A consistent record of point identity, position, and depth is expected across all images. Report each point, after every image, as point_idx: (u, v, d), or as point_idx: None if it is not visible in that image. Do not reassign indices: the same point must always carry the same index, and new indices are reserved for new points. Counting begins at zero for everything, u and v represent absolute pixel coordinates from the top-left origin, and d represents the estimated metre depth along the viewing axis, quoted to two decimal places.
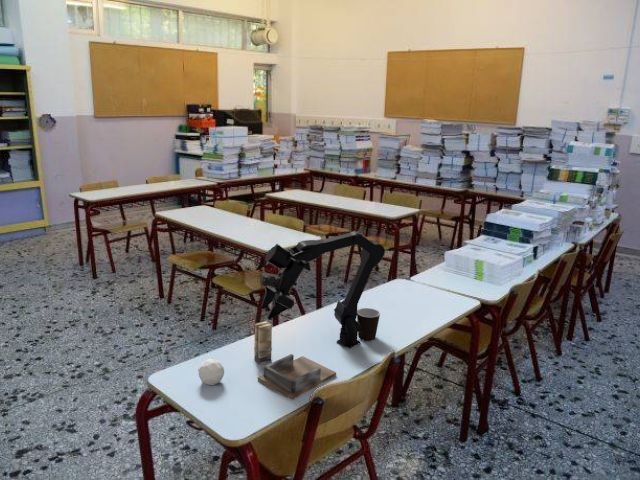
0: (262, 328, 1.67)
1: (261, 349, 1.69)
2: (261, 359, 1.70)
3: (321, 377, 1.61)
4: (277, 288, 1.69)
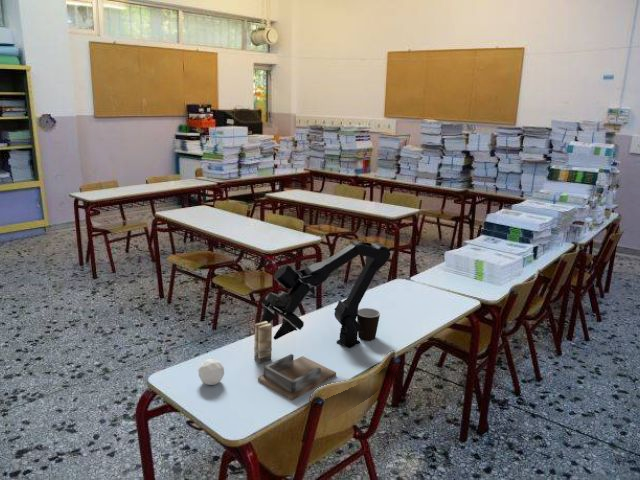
0: (262, 328, 1.67)
1: (261, 349, 1.69)
2: (261, 359, 1.70)
3: (321, 377, 1.61)
4: (285, 309, 1.70)
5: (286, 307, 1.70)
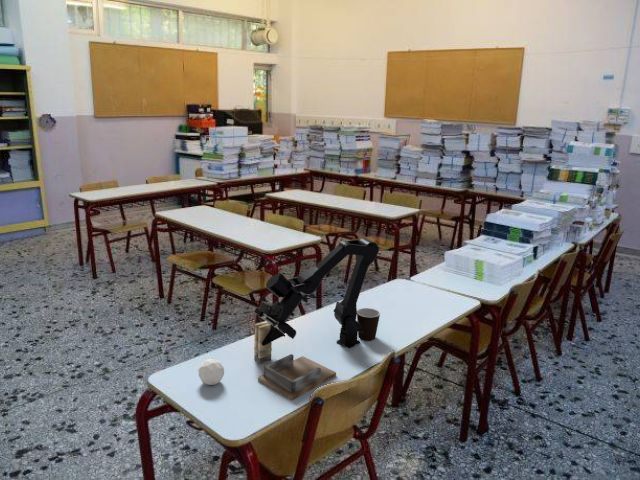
0: (262, 328, 1.67)
1: (261, 349, 1.69)
2: (261, 358, 1.70)
3: (321, 377, 1.61)
4: (278, 317, 1.69)
5: (278, 316, 1.69)
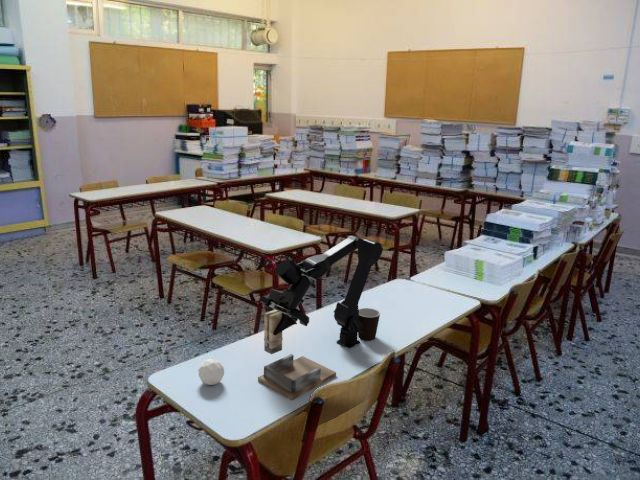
0: (273, 317, 1.60)
1: (272, 339, 1.61)
2: (272, 349, 1.62)
3: (321, 377, 1.61)
4: (289, 305, 1.62)
5: (289, 303, 1.62)
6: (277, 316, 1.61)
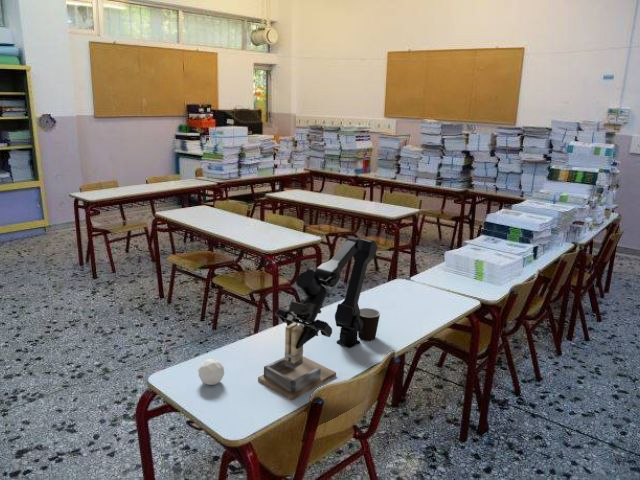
0: (296, 330, 1.54)
1: (295, 353, 1.56)
2: (295, 363, 1.57)
3: (321, 377, 1.61)
4: (310, 317, 1.57)
5: (310, 315, 1.57)
6: (299, 329, 1.55)
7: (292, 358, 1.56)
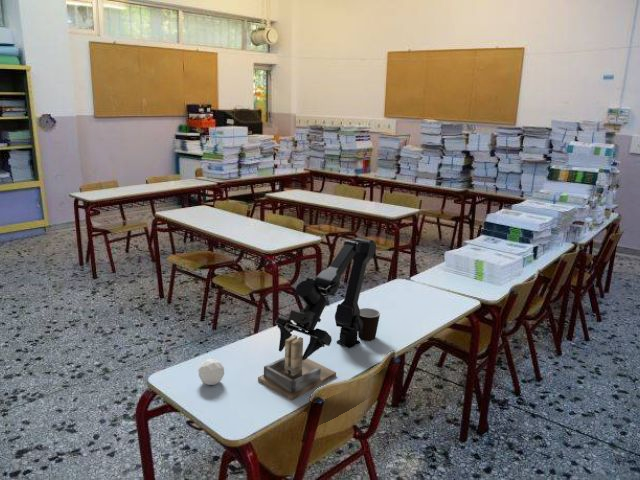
0: (296, 343, 1.55)
1: (295, 366, 1.57)
2: (294, 376, 1.58)
3: (321, 377, 1.61)
4: (309, 325, 1.58)
5: (310, 323, 1.58)
6: (299, 342, 1.56)
7: (292, 371, 1.57)
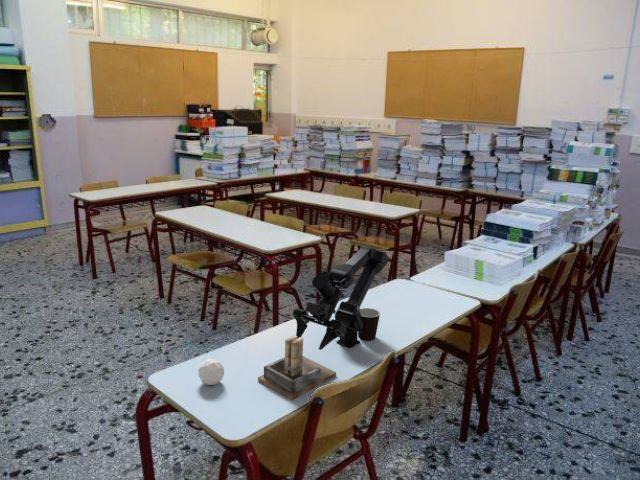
0: (296, 343, 1.55)
1: (295, 366, 1.57)
2: (294, 376, 1.58)
3: (321, 377, 1.61)
4: (325, 316, 1.65)
5: (326, 315, 1.65)
6: (299, 342, 1.56)
7: (292, 371, 1.57)
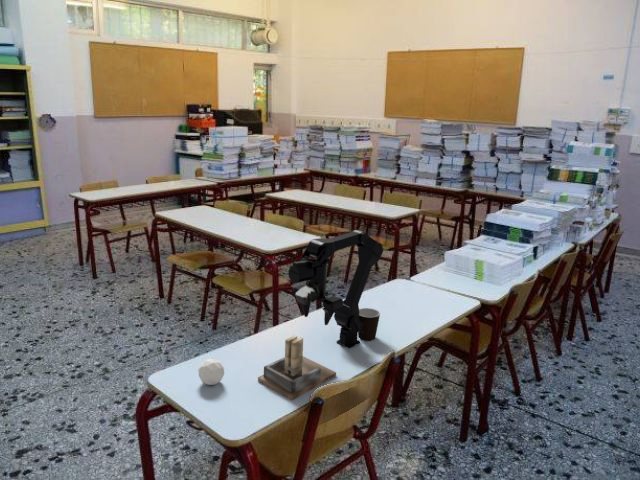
0: (296, 343, 1.55)
1: (295, 366, 1.57)
2: (294, 376, 1.58)
3: (321, 377, 1.61)
4: (318, 297, 1.67)
5: (318, 295, 1.67)
6: (299, 342, 1.56)
7: (292, 371, 1.57)
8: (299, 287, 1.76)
